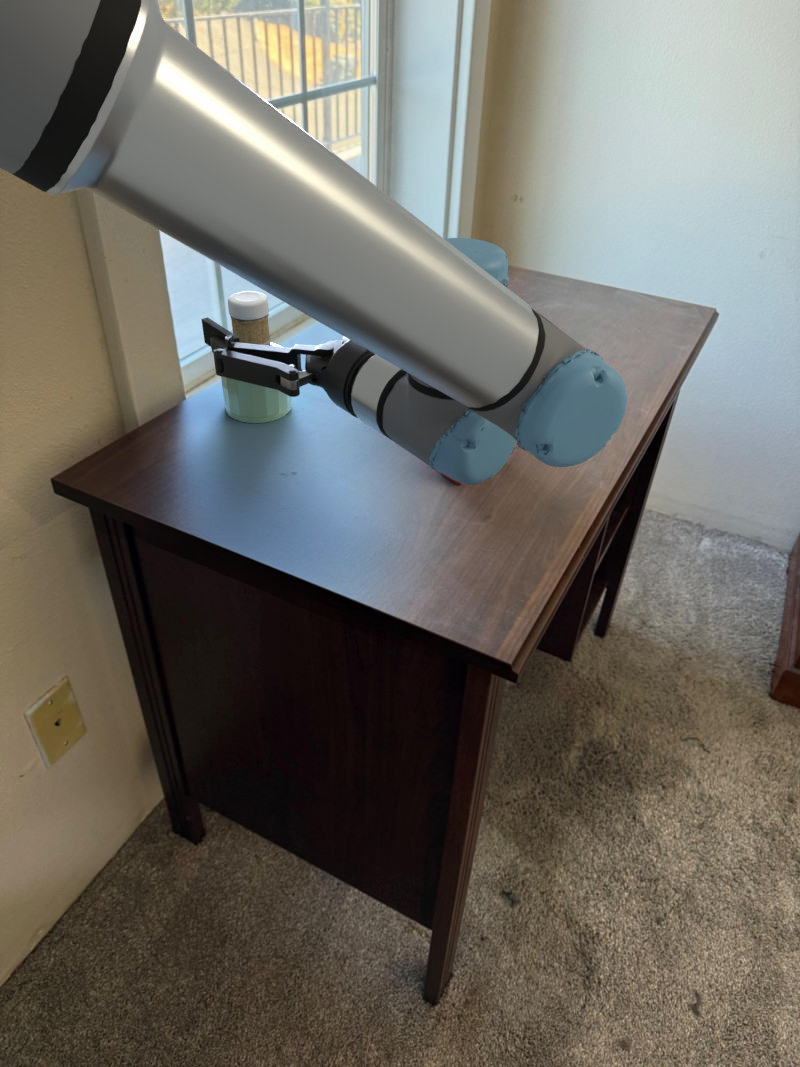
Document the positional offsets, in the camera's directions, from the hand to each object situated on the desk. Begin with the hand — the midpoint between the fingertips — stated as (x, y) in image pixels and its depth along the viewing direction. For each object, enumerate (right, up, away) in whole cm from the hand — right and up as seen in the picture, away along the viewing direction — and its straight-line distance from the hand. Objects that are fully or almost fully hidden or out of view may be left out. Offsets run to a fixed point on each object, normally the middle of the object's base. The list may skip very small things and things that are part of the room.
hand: (259, 315), depth 85 cm
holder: (-2, -9, +9) cm, 13 cm away
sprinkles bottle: (-2, -8, +9) cm, 12 cm away
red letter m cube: (+23, -18, -1) cm, 29 cm away
